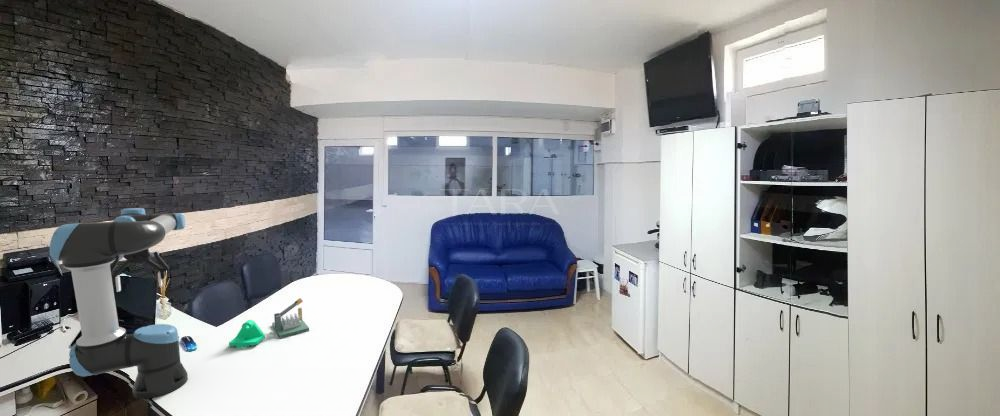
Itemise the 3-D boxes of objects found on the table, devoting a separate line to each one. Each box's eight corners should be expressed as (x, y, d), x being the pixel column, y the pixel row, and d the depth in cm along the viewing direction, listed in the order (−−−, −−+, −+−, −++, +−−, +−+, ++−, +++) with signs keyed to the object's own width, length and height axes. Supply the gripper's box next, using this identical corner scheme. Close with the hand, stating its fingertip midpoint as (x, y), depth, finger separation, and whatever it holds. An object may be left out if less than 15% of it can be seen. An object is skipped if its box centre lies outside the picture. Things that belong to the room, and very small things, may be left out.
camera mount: (228, 348, 164) (226, 327, 163) (238, 340, 171) (236, 320, 170) (256, 347, 165) (254, 326, 164) (264, 339, 173) (263, 319, 172)
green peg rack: (309, 330, 183) (308, 314, 182) (280, 338, 174) (279, 321, 173) (299, 318, 196) (298, 303, 196) (272, 325, 188) (271, 309, 187)
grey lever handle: (303, 301, 186) (301, 299, 186) (277, 320, 179) (275, 318, 178) (301, 299, 189) (299, 297, 189) (276, 318, 182) (274, 315, 181)
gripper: (174, 238, 169) (178, 281, 171) (98, 243, 155) (103, 290, 157) (171, 241, 163) (175, 285, 165) (92, 246, 149) (97, 295, 151)
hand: (140, 288), depth 161 cm, fingers open, 13 cm apart
